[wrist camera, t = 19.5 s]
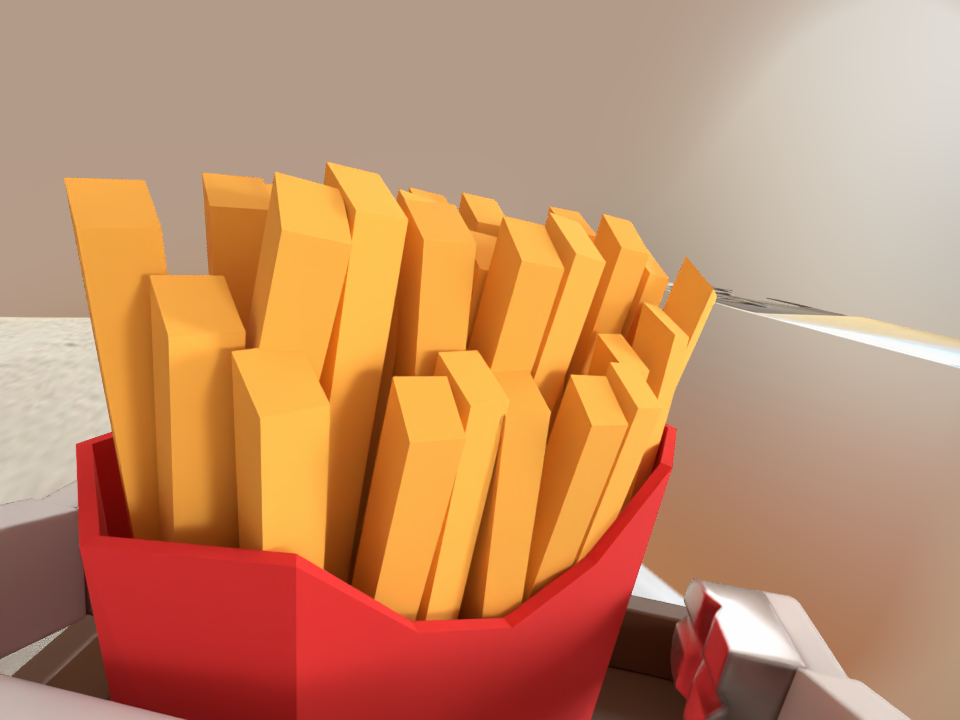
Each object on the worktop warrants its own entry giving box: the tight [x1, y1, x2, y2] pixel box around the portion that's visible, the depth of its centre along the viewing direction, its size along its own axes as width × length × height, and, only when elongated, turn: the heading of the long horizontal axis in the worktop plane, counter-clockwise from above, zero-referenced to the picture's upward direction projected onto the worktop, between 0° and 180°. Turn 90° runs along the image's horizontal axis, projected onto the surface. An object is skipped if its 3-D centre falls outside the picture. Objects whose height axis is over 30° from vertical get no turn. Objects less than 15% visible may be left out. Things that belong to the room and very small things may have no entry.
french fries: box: [64, 162, 717, 720], centre depth 8 cm, size 8×4×12 cm, turn 126°
